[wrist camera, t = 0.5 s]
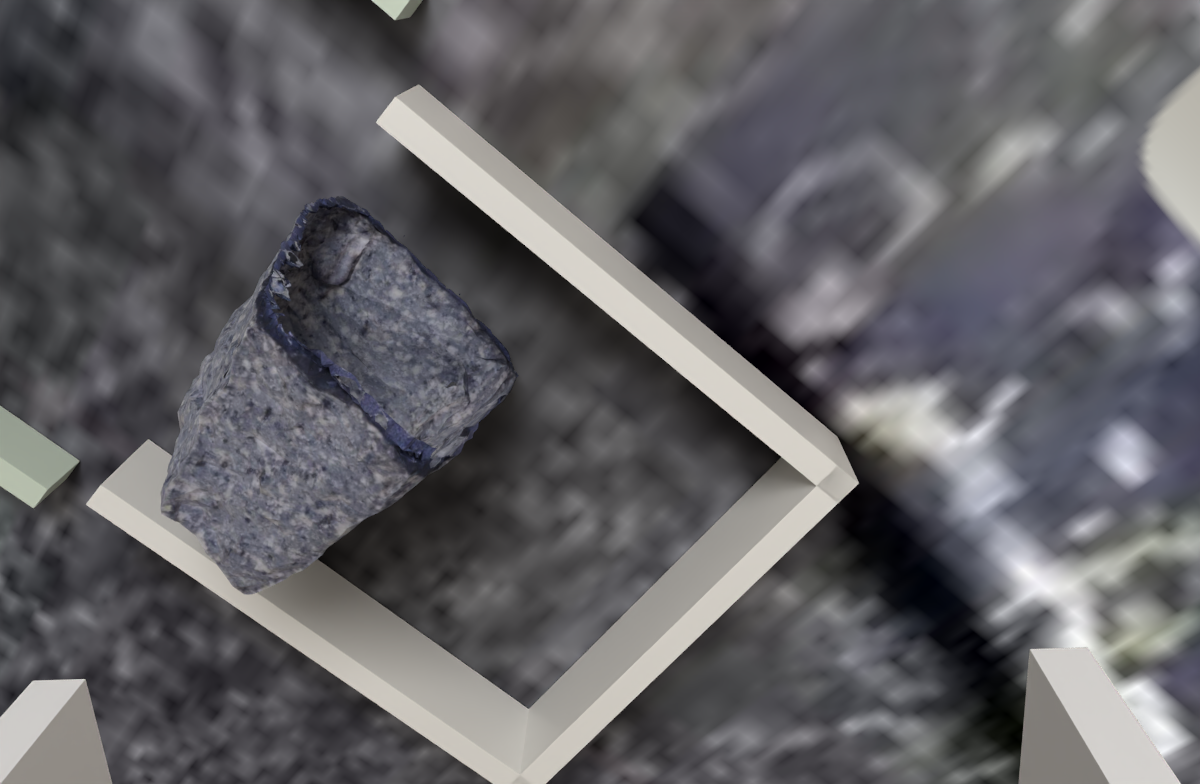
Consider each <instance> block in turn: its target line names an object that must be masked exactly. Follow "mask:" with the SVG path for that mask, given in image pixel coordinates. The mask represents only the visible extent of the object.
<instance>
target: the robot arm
mask: <svg viewBox="0 0 1200 784" xmlns="http://www.w3.org/2000/svg"><path fill="white" fill-rule="evenodd" d="M0 784H112V781H111V777H110V773H109V770H108V766H107V762H106V758H105V754H104V750H103V746H102V742H101V738H100V734H99V730H98V726H97V723H96V719H95V715H94V711H93V707H92V703H91V699H90V695H89V691H88V687H87V683H86V680H85V679H73V680H41V681H32V682H31V683H30V685H29V686H28V687H27V688H26V689H25V690H24V691H23V693H22V694H21V695H20V696H19V697H18V698H17V699H16V700H15V702H14V703H13V704H12V705H11V706H10V707H9V708H8V709H7V711H6V712H5V713H4V714H3V715H2V716H1V717H0ZM1019 784H1181V783H1180V782H1179V780H1178V779H1177V777H1176V776H1175V774H1174V773H1173V772H1172V770H1171V769H1170V767H1169V766H1168V764H1167V763H1166V761H1165V760H1164V758H1163V757H1162V755H1161V754H1160V752H1159V751H1158V750H1157V748H1156V747H1155V745H1154V744H1153V742H1152V741H1151V739H1150V738H1149V736H1148V735H1147V733H1146V732H1145V731H1144V729H1143V728H1142V726H1141V725H1140V723H1139V722H1138V720H1137V719H1136V717H1135V716H1134V714H1133V713H1132V712H1131V710H1130V709H1129V707H1128V706H1127V704H1126V703H1125V701H1124V700H1123V698H1122V697H1121V695H1120V694H1119V693H1118V691H1117V690H1116V688H1115V687H1114V685H1113V684H1112V682H1111V681H1110V679H1109V678H1108V676H1107V675H1106V673H1105V672H1104V671H1103V669H1102V668H1101V666H1100V665H1099V663H1098V662H1097V660H1096V659H1095V657H1094V656H1093V654H1092V653H1091V652H1090V650H1089V649H1088V647H1085V648H1053V649H1030V653H1029V665H1028V677H1027V689H1026V701H1025V713H1024V725H1023V737H1022V749H1021V761H1020V773H1019Z"/></svg>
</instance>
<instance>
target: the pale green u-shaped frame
mask: <svg viewBox="0 0 1200 784" xmlns="http://www.w3.org/2000/svg"><path fill="white" fill-rule="evenodd" d="M372 1H373V2H374V3H375V4H376V5H378V6H379V7H380V8H381V9H382V10H383V11H385V12H386V13H387V14H388V15H389V16H390V17H392V18H393V19H394V20H400V19H405V18H410V17H411V16H412V14H413V13H414V12H415V10H416V9H417V8H418V6H419V5H420V3H421V2H422V1H423V0H372ZM79 462H80V461H79V460H78V459H76V458H75V457H73V456H72V455H71V454H69V453H68V452H66V451H65V450H63V449H62V448H60V447H59V446H58V445H56V444H55V443H53V442H52V441H50V440H49V439H47V438H46V437H45V436H43V435H42V434H40V433H39V432H37V431H36V430H35V429H33V428H32V427H30V426H29V425H27V424H26V423H24V422H23V421H22V420H20V419H19V418H17V417H16V416H14V415H13V414H11V413H10V412H9V411H7V410H6V409H4V408H3V407H1V406H0V486H1V487H3V488H4V489H6V490H7V491H9V492H10V493H12V494H13V495H15V496H16V497H17V498H19V499H20V500H22V501H23V502H25V503H26V504H28V505H29V506H31V507H32V508H35V507H36V506H37V505H38V504H39V503H40V502H41V501H43V500H44V499H45V498H46V497H47V496H48V495H49V494H50V493H51V492H53V491H54V490H55V489H56V488H57V487H58V486H59V485H60V484H62V483H63V482H64V481H65V480H66V479H67V478H68V476H69V475H70V474H71V472H72V471H73V470H74V468H75V467H76V466H77V464H78V463H79Z"/></svg>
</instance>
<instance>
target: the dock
mask: <svg viewBox="0 0 1200 784" xmlns="http://www.w3.org/2000/svg"><path fill="white" fill-rule="evenodd" d="M376 123H377V124H378V125H379V126H381V127H382V128H383V129H384V130H386V131H387V132H388V133H389V134H390V135H392V136H393V137H394V138H395V139H396V140H398V141H399V142H400V143H401V144H402V145H404V146H405V147H406V148H407V149H409V150H410V151H411V152H412V153H413V154H415V155H416V156H417V157H418V158H419V159H421V160H422V161H423V162H424V163H426V164H427V165H428V166H429V167H430V168H432V169H433V170H434V171H435V172H436V173H438V174H439V175H440V176H441V177H443V178H444V179H445V180H446V181H447V182H449V183H450V184H451V185H452V186H453V187H455V188H456V189H457V190H458V191H459V192H461V193H462V194H463V195H464V196H466V197H467V198H468V199H469V200H470V201H472V202H473V203H474V204H475V205H476V206H478V207H479V208H480V209H481V210H483V211H484V212H485V213H486V214H487V215H489V216H490V217H491V218H492V219H493V220H495V221H496V222H497V223H498V224H500V225H501V226H502V227H503V228H504V229H506V230H507V231H508V232H509V233H510V234H512V235H513V236H514V237H515V238H516V239H518V240H519V241H520V242H521V243H523V244H524V245H525V246H526V247H527V248H529V249H530V250H531V251H532V252H533V253H535V254H536V255H537V256H538V257H540V258H541V259H542V260H543V261H544V262H546V263H547V264H548V265H549V266H550V267H552V268H553V269H554V270H555V271H557V272H558V273H559V274H560V275H561V276H563V277H564V278H565V279H566V280H567V281H569V282H570V283H571V284H572V285H574V286H575V287H576V288H577V289H578V290H580V291H581V292H582V293H583V294H584V295H586V296H587V297H588V298H589V299H590V300H592V301H593V302H594V303H595V304H597V305H598V306H599V307H600V308H601V309H603V310H604V311H605V312H606V313H607V314H609V315H610V316H611V317H612V318H614V319H615V320H616V321H617V322H618V323H620V324H621V325H622V326H623V327H624V328H626V329H627V330H628V331H629V332H631V333H632V334H633V335H634V336H635V337H637V338H638V339H639V340H640V341H641V342H643V343H644V344H645V345H646V346H647V347H649V348H650V349H651V350H652V351H654V352H655V353H656V354H657V355H658V356H660V357H661V358H662V359H663V360H664V361H666V362H667V363H668V364H669V365H671V366H672V367H673V368H674V369H675V370H677V371H678V372H679V373H680V374H681V375H683V376H684V377H685V378H686V379H688V380H689V381H690V382H691V383H692V384H694V385H695V386H696V387H697V388H698V389H700V390H701V391H702V392H703V393H705V394H706V395H707V396H708V397H709V398H711V399H712V400H713V401H714V402H715V403H717V404H718V405H719V406H720V407H721V408H723V409H724V410H725V411H726V412H728V413H729V414H730V415H731V416H732V417H734V418H735V419H736V420H737V421H738V422H740V423H741V424H742V425H743V426H745V427H746V428H747V429H748V430H749V431H751V432H752V433H753V434H754V435H755V436H757V437H758V438H759V439H760V440H762V441H763V442H764V443H765V444H766V445H768V446H769V447H770V448H771V449H772V450H774V451H775V452H776V453H777V454H778V455H780V456H781V458H780V459H779V460H778V461H777V462H776V463H775V464H774V465H773V466H772V467H771V468H770V469H769V470H768V471H767V472H766V473H765V474H764V475H763V476H762V477H761V478H760V479H759V480H758V481H757V482H756V483H755V484H754V485H753V486H752V487H751V488H750V489H749V490H748V491H747V492H746V493H745V494H744V495H743V496H742V497H741V498H740V499H739V500H738V501H737V502H736V503H735V504H734V505H733V506H732V507H731V508H730V509H729V510H728V511H727V512H726V513H725V514H724V515H723V516H722V517H721V518H720V519H719V520H718V521H717V522H716V523H715V524H714V525H713V526H712V527H711V528H710V529H709V530H708V531H707V532H706V533H705V534H704V535H703V536H702V537H701V538H700V539H699V540H698V541H697V542H696V543H695V544H694V545H693V546H692V547H691V548H690V549H689V550H688V551H687V552H686V553H685V554H684V555H683V556H682V557H681V558H680V559H679V560H678V561H677V562H676V563H675V564H674V565H673V566H672V567H671V568H670V569H669V570H668V571H667V572H666V573H665V574H664V575H663V576H662V577H661V578H660V579H659V580H658V581H657V582H656V583H655V584H654V585H653V586H652V587H651V588H650V589H649V590H648V591H647V592H646V593H645V594H644V595H643V596H642V597H641V598H640V599H639V600H638V601H637V602H636V603H635V604H634V605H633V606H632V607H631V608H630V609H629V610H628V611H627V612H626V613H625V614H624V615H623V616H622V617H621V618H620V619H619V620H618V621H617V622H616V623H615V624H614V625H613V626H612V627H611V628H610V629H609V630H608V631H607V632H606V633H605V634H604V635H603V636H602V637H601V638H600V639H599V640H598V641H597V642H596V643H595V644H594V645H593V646H592V647H591V648H590V649H589V650H588V651H587V652H586V653H585V654H584V655H583V656H582V657H581V658H580V659H579V660H578V661H577V662H576V663H575V664H574V665H573V666H572V667H570V668H569V669H568V670H567V671H566V672H565V673H564V674H563V675H562V676H561V677H560V678H559V679H558V680H557V681H556V682H555V683H554V684H553V685H552V686H551V687H550V688H549V689H548V690H547V691H546V692H545V693H544V694H543V695H542V696H541V697H540V698H539V699H538V700H537V701H536V702H535V703H534V704H533V705H532V706H531V707H530V708H529V709H528V708H526V707H525V706H523V705H522V704H521V703H519V702H518V701H516V700H515V699H514V698H512V697H511V696H509V695H508V694H507V693H505V692H504V691H502V690H501V689H499V688H498V687H497V686H495V685H494V684H492V683H491V682H490V681H488V680H487V679H485V678H484V677H483V676H481V675H480V674H478V673H477V672H476V671H474V670H473V669H471V668H470V667H468V666H467V665H466V664H464V663H463V662H461V661H460V660H459V659H457V658H456V657H454V656H453V655H452V654H450V653H449V652H447V651H446V650H445V649H443V648H442V647H440V646H439V645H438V644H436V643H435V642H433V641H432V640H430V639H429V638H428V637H426V636H425V635H423V634H422V633H421V632H419V631H418V630H416V629H415V628H414V627H412V626H411V625H409V624H408V623H407V622H405V621H404V620H402V619H401V618H399V617H398V616H397V615H395V614H394V613H392V612H391V611H390V610H388V609H387V608H385V607H384V606H383V605H381V604H380V603H378V602H377V601H376V600H374V599H373V598H371V597H370V596H369V595H367V594H366V593H364V592H363V591H361V590H360V589H359V588H357V587H356V586H354V585H353V584H352V583H350V582H349V581H347V580H346V579H345V578H343V577H342V576H340V575H339V574H338V573H336V572H335V571H333V570H332V569H330V568H329V567H328V566H326V565H325V564H323V563H322V562H321V561H319V560H318V559H317V560H315V561H314V562H313V563H312V564H310V565H309V566H308V567H307V568H306V569H304V570H303V571H300V572H298V573H295V574H292V575H291V576H289V577H288V578H287V579H285V580H283V581H281V582H279V583H277V584H275V585H273V586H271V587H269V588H267V589H265V590H262V591H260V592H257V593H255V594H243V593H241V592H240V591H239V590H237V589H236V588H234V587H233V586H232V585H231V583H230V582H229V580H228V579H227V578H226V576H225V575H224V574H223V572H222V571H221V570H220V568H219V567H218V566H217V564H216V563H215V562H214V561H213V560H212V559H211V558H210V557H209V556H208V555H207V554H206V553H205V551H204V549H203V547H202V546H201V544H200V542H199V541H198V539H197V537H196V536H195V535H194V534H193V533H191V532H190V531H189V530H188V529H186V528H185V527H184V526H183V525H181V524H180V523H179V522H176V521H174V520H172V519H170V518H168V517H166V516H164V515H162V514H161V509H160V508H161V494H160V492H161V490H162V487H163V483H164V482H165V479H166V477H167V474H168V472H167V470H168V465H169V462H170V460H171V458H172V456H171V455H170V454H169V453H167V452H166V451H164V450H163V449H162V448H160V447H159V446H157V445H156V444H154V443H153V442H152V441H150V440H149V439H148V440H147V441H146V442H145V443H144V444H143V445H142V446H141V447H140V448H138V449H137V450H136V451H135V452H134V453H133V454H132V455H131V456H130V457H129V458H128V459H127V460H126V461H125V462H124V463H123V464H122V465H121V466H120V467H119V468H118V469H117V470H116V471H115V472H114V473H113V474H112V475H111V476H109V477H108V478H107V479H106V480H105V481H104V482H103V483H102V484H101V485H100V487H99V488H98V489H97V491H96V492H95V493H94V495H93V496H92V497H91V498H90V500H89V501H88V502H87V504H86V505H87V506H89V507H90V508H92V509H93V510H95V511H96V512H97V513H99V514H100V515H102V516H103V517H105V518H106V519H108V520H109V521H111V522H112V523H114V524H115V525H116V526H118V527H119V528H121V529H122V530H124V531H125V532H127V533H128V534H130V535H131V536H132V537H134V538H135V539H137V540H138V541H140V542H141V543H143V544H144V545H146V546H147V547H149V548H150V549H151V550H153V551H154V552H156V553H157V554H159V555H160V556H162V557H163V558H165V559H166V560H167V561H169V562H170V563H172V564H173V565H175V566H176V567H178V568H179V569H181V570H182V571H184V572H185V573H186V574H188V575H189V576H191V577H192V578H194V579H195V580H197V581H198V582H200V583H201V584H202V585H204V586H205V587H207V588H208V589H210V590H211V591H213V592H214V593H216V594H217V595H219V596H220V597H221V598H223V599H224V600H226V601H227V602H229V603H230V604H232V605H233V606H235V607H236V608H237V609H239V610H240V611H242V612H243V613H245V614H246V615H248V616H249V617H251V618H252V619H254V620H255V621H256V622H258V623H259V624H261V625H262V626H264V627H265V628H267V629H268V630H270V631H271V632H273V633H274V634H275V635H277V636H278V637H280V638H281V639H283V640H284V641H286V642H287V643H289V644H290V645H291V646H293V647H294V648H296V649H297V650H299V651H300V652H302V653H303V654H305V655H306V656H308V657H309V658H310V659H312V660H313V661H315V662H316V663H318V664H319V665H321V666H322V667H324V668H325V669H326V670H328V671H329V672H331V673H332V674H334V675H335V676H337V677H338V678H340V679H341V680H343V681H344V682H345V683H347V684H348V685H350V686H351V687H353V688H354V689H356V690H357V691H359V692H360V693H361V694H363V695H364V696H366V697H367V698H369V699H370V700H372V701H373V702H375V703H376V704H378V705H379V706H380V707H382V708H383V709H385V710H386V711H388V712H389V713H391V714H392V715H394V716H395V717H396V718H398V719H399V720H401V721H402V722H404V723H405V724H407V725H408V726H410V727H411V728H413V729H414V730H415V731H417V732H418V733H420V734H421V735H423V736H424V737H426V738H427V739H429V740H430V741H431V742H433V743H434V744H436V745H437V746H439V747H440V748H442V749H443V750H445V751H446V752H448V753H449V754H450V755H452V756H453V757H455V758H456V759H458V760H459V761H461V762H462V763H464V764H465V765H466V766H468V767H469V768H471V769H472V770H474V771H475V772H477V773H478V774H480V775H481V776H483V777H484V778H485V779H487V780H488V781H490V782H491V783H493V784H546V783H547V782H548V781H549V780H550V779H551V778H552V777H553V776H554V775H555V774H556V773H557V772H558V771H560V770H561V769H562V768H563V767H564V766H565V765H566V764H567V763H568V762H569V761H570V760H571V759H572V758H573V757H574V756H575V755H576V754H577V753H578V752H579V751H580V750H581V749H582V748H583V747H585V746H586V745H587V744H588V743H589V742H590V741H591V740H592V739H593V738H594V737H595V736H596V735H597V734H598V733H599V732H600V731H601V730H602V729H603V728H604V727H605V726H606V725H607V724H609V723H610V722H611V721H612V720H613V719H614V718H615V717H616V716H617V715H618V714H619V713H620V712H621V711H622V710H623V709H624V708H625V707H626V706H627V705H628V704H629V703H630V702H631V701H632V700H634V699H635V698H636V697H637V696H638V695H639V694H640V693H641V692H642V691H643V690H644V689H645V688H646V687H647V686H648V685H649V684H650V683H651V682H652V681H653V680H654V679H655V678H656V677H657V676H659V675H660V674H661V673H662V672H663V671H664V670H665V669H666V668H667V667H668V666H669V665H670V664H671V663H672V662H673V661H674V660H675V659H676V658H677V657H678V656H679V655H680V654H681V653H682V652H684V651H685V650H686V649H687V648H688V647H689V646H690V645H691V644H692V643H693V642H694V641H695V640H696V639H697V638H698V637H699V636H700V635H701V634H702V633H703V632H704V631H705V630H706V629H707V628H709V627H710V626H711V625H712V624H713V623H714V622H715V621H716V620H717V619H718V618H719V617H720V616H721V615H722V614H723V613H724V612H725V611H726V610H727V609H728V608H729V607H730V606H731V605H732V604H734V603H735V602H736V601H737V600H738V599H739V598H740V597H741V596H742V595H743V594H744V593H745V592H746V591H747V590H748V589H749V588H750V587H751V586H752V585H753V584H754V583H755V582H756V581H757V580H759V579H760V578H761V577H762V576H763V575H764V574H765V573H766V572H767V571H768V570H769V569H770V568H771V567H772V566H773V565H774V564H775V563H776V562H777V561H778V560H779V559H780V558H781V557H782V556H784V555H785V554H786V553H787V552H788V551H789V550H790V549H791V548H792V547H793V546H794V545H795V544H796V543H797V542H798V541H799V540H800V539H801V538H802V537H803V536H804V535H805V534H806V533H807V532H809V531H810V530H811V529H812V528H813V527H814V526H815V525H816V524H817V523H818V522H819V521H820V520H821V519H822V518H823V517H824V516H825V515H826V514H827V513H828V512H829V511H830V510H831V509H832V508H834V507H835V506H836V505H837V504H838V503H839V502H840V501H841V500H842V499H843V498H844V497H845V496H846V495H847V494H848V493H849V492H850V491H851V490H852V489H853V488H854V487H855V486H856V485H857V484H859V483H858V480H857V478H856V476H855V474H854V472H853V470H852V467H851V465H850V463H849V461H848V459H847V456H846V454H845V452H844V450H843V448H842V446H841V443H840V441H839V439H838V437H837V436H836V435H835V434H833V433H832V432H831V431H830V430H829V429H827V428H826V427H825V426H824V425H823V424H822V423H820V422H819V421H818V420H817V419H816V418H814V417H813V416H812V415H811V414H810V413H808V412H807V411H806V410H805V409H804V408H803V407H801V406H800V405H799V404H798V403H797V402H795V401H794V400H793V399H792V398H791V397H789V396H788V395H787V394H786V393H785V392H784V391H782V390H781V389H780V388H779V387H778V386H776V385H775V384H774V383H773V382H772V381H771V380H769V379H768V378H767V377H766V376H765V375H763V374H762V373H761V372H760V371H759V370H757V369H756V368H755V367H754V366H753V365H752V364H750V363H749V362H748V361H747V360H746V359H744V358H743V357H742V356H741V355H740V354H738V353H737V352H736V351H735V350H734V349H733V348H731V347H730V346H729V345H728V344H727V343H725V342H724V341H723V340H722V339H721V338H719V337H718V336H717V335H716V334H715V333H714V332H712V331H711V330H710V329H709V328H708V327H706V326H705V325H704V324H703V323H702V322H700V321H699V320H698V319H697V318H696V317H695V316H693V315H692V314H691V313H690V312H689V311H687V310H686V309H685V308H684V307H683V306H681V305H680V304H679V303H678V302H677V301H676V300H674V299H673V298H672V297H671V296H670V295H668V294H667V293H666V292H665V291H664V290H662V289H661V288H660V287H659V286H658V285H657V284H655V283H654V282H653V281H652V280H651V279H649V278H648V277H647V276H646V275H645V274H643V273H642V272H641V271H640V270H639V269H638V268H636V267H635V266H634V265H633V264H632V263H630V262H629V261H628V260H627V259H626V258H624V257H623V256H622V255H621V254H620V253H619V252H617V251H616V250H615V249H614V248H613V247H611V246H610V245H609V244H608V243H607V242H605V241H604V240H603V239H602V238H601V237H600V236H598V235H597V234H596V233H595V232H594V231H592V230H591V229H590V228H589V227H588V226H586V225H585V224H584V223H583V222H582V221H581V220H579V219H578V218H577V217H576V216H575V215H573V214H572V213H571V212H570V211H569V210H567V209H566V208H565V207H564V206H563V205H562V204H560V203H559V202H558V201H557V200H556V199H554V198H553V197H552V196H551V195H550V194H548V193H547V192H546V191H545V190H544V189H543V188H541V187H540V186H539V185H538V184H537V183H535V182H534V181H533V180H532V179H531V178H529V177H528V176H527V175H526V174H525V173H524V172H522V171H521V170H520V169H519V168H518V167H516V166H515V165H514V164H513V163H512V162H510V161H509V160H508V159H507V158H506V157H505V156H503V155H502V154H501V153H500V152H499V151H497V150H496V149H495V148H494V147H493V146H491V145H490V144H489V143H488V142H487V141H486V140H484V139H483V138H482V137H481V136H480V135H478V134H477V133H476V132H475V131H474V130H472V129H471V128H470V127H469V126H468V125H467V124H465V123H464V122H463V121H462V120H461V119H459V118H458V117H457V116H456V115H455V114H453V113H452V112H451V111H450V110H449V109H448V108H446V107H445V106H444V105H443V104H442V103H440V102H439V101H438V100H437V99H436V98H434V97H433V96H432V95H431V94H430V93H429V92H427V91H426V90H425V89H424V88H423V87H421V86H420V85H417V86H415V87H413V88H411V89H409V90H407V91H405V92H403V93H401V94H400V95H398V96H396V97H395V98H394V99H393V100H392V102H391V103H390V104H389V106H388V107H387V108H386V110H385V111H384V112H383V114H382V115H381V116H380V118H379V119H378V120H377V122H376Z"/></svg>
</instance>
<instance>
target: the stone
mask: <svg viewBox="0 0 1200 784" xmlns="http://www.w3.org/2000/svg"><path fill="white" fill-rule="evenodd" d="M333 228H334V229H333ZM459 295H460V294H459ZM517 377H518V374H517V373H516V372H515V371H514V368H513V366H512V363H511V362H510V356H509V352H508V351H507V349H506V348H505V347H504V346H503V345H502V343H501V342H500V341H499V340H498V339H497V338H496V337H495V336H494V335H493V334H492V333H491V331H490V329H488V328H487V327H486V326H485V325H484V324H483V323H482V322H480V321H479V320H477V319H475V318H474V317H473V315H472V313H471V311H470V309H469V307H468V306H467V304H466V303H465V302H464V301H463V300H462V299H461V298H460V297H458V296H457V295H456V294H455V293H454V292H453V291H451V290H450V289H446V287H445V285H443V284H442V283H441V282H439V281H438V278H437V277H436V276H435V275H434V274H433V273H432V272H431V271H430V270H429V269H427V268H426V267H425V266H423V265H422V264H421V262H420V261H419V260H418V259H417V258H416V257H415V256H414V255H413V254H412V253H411V252H410V251H409V250H408V249H407V248H406V247H405V246H404V245H402V244H401V243H399V242H398V241H397V240H395V238H394V237H393V236H392V235H391V233H389V232H388V231H387V230H386V231H385V230H384V228H383V226H382V225H381V223H380V222H379V221H377V220H375V219H374V218H373V217H372V216H371V215H370V214H369V212H368V211H367V210H366V209H363V208H361V207H359V206H358V205H356V204H355V203H353V202H351V201H349V200H348V199H346V198H345V197H341V196H337V197H336V198H333V197H330V198H329V199H325V198H324V199H319V200H317V202H315V203H313V202H312V203H311V204H306V205H305V210H302V212H301V213H300V214H299V216H298V217H297V219H296V220H295V223H294V225H293V228H292V231H291V233H290V234H289V236H288V237H287V239H286V240H285V241H283V242H282V243H281V248H280V250H279V252H278V253H277V255H276V256H275V258H274V259H273V261H272V263H271V264H270V266H269V267H268V268H267V269H266V271H265V272H264V273H263V274H262V275H261V277H260V279H259V282H258V284H257V287H256V290H255V292H254V294H253V295H252V296H251V297H250V298H249V299H248V300H247V301H246V302H245V303H243V304H242V305H241V306H240V307H239V308H238V309H237V310H235V311H234V312H233V314H232V315H231V317H230V319H229V321H228V322H227V324H226V325H225V327H224V328H223V330H222V331H221V334H220V336H219V338H218V339H217V341H216V344H215V348H214V351H213V352H212V353H210V354H209V355H207V356H206V357H205V358H204V360H203V362H202V363H201V368H200V372H199V376H198V377H196V378H195V379H194V380H193V382H192V385H191V388H190V389H189V390H188V392H187V393H186V395H185V397H184V400H183V402H182V404H181V406H180V409H179V411H178V418H179V425H180V434H179V436H178V438H177V440H176V444H175V449H174V453H173V456H172V458H171V460H170V462H169V465H168V470H167V472H168V474H167V477H166V479H165V482H164V483H163V487H162V490H161V492H160V494H161V508H160V509H161V514H162V515H164V516H166V517H168V518H170V519H172V520H174V521H176V522H179V523H180V524H181V525H183V526H184V527H185V528H186V529H188V530H189V531H190V532H191V533H193V534H194V535H195V536H196V537H197V539H198V541H199V542H200V544H201V546H202V547H203V549H204V551H205V553H206V554H207V555H208V556H209V557H210V558H211V559H212V560H213V561H214V562H215V563H216V564H217V566H218V567H219V568H220V570H221V571H222V572H223V574H224V575H225V576H226V578H227V579H228V580H229V582H230V583H231V585H232V586H233V587H234V588H236V589H237V590H239V591H240V592H241V593H243V594H255V593H257V592H260V591H262V590H265V589H267V588H269V587H271V586H273V585H275V584H277V583H279V582H281V581H283V580H285V579H287V578H288V577H289V576H291V575H292V574H295V573H298V572H300V571H303V570H304V569H306V568H307V567H308V566H309V565H310V564H312V563H313V562H314V561H315V560H317V559H318V558H319V557H320V556H322V555H323V553H324V552H325V550H326V549H327V548H328V547H329V546H331V545H332V544H334V543H335V542H337V541H338V540H340V539H341V538H342V537H343V536H345V535H346V534H347V533H349V532H350V531H351V530H353V529H354V528H355V527H356V526H357V525H358V524H360V523H361V522H362V521H363V520H365V519H366V518H368V517H370V516H372V515H374V514H377V513H379V512H381V511H382V510H384V509H386V508H388V507H389V506H391V505H392V504H394V503H395V502H396V501H398V500H399V499H400V498H401V497H402V496H404V495H405V494H406V493H407V492H408V491H409V490H411V489H412V488H413V487H414V486H416V485H417V484H418V483H419V482H421V481H422V480H423V479H424V478H425V477H427V476H428V475H429V474H431V473H433V472H435V471H437V470H439V469H440V468H442V467H443V466H444V465H445V464H447V463H448V462H449V461H451V460H452V459H453V458H455V457H456V456H457V455H458V454H460V453H461V451H462V448H463V446H464V443H465V442H466V441H468V440H469V439H472V438H473V433H474V432H475V431H476V430H477V428H478V424H479V422H481V420H483V418H485V417H486V415H488V414H489V412H491V411H492V410H493V409H494V408H495V407H496V406H497V405H499V404H500V403H501V402H503V401H504V399H505V398H506V396H507V395H508V394H509V392H510V391H511V389H512V386H513V384H514V382H515V380H516V378H517ZM451 382H455V383H457V384H456V386H452V387H449V388H445V387H444V386H446V387H447V386H448V385H449V384H450V383H451Z"/></svg>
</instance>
